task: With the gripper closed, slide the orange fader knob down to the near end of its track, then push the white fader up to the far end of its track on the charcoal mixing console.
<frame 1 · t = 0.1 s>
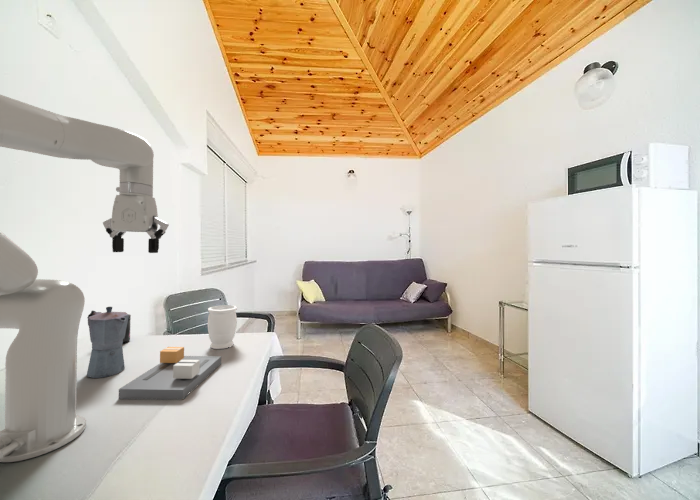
hand: (135, 252, 80), 37 cm above the table, tool pointing down, fingers open, 9 cm apart
moka pot: (104, 372, 85), on the table
orange fader: (172, 354, 88), point 5 cm above the table, slide at 10.0 cm
console: (176, 379, 82), on the table
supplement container: (119, 343, 111), on the table
jar: (222, 346, 110), on the table
white fader: (186, 368, 78), point 5 cm above the table, slide at 0.0 cm
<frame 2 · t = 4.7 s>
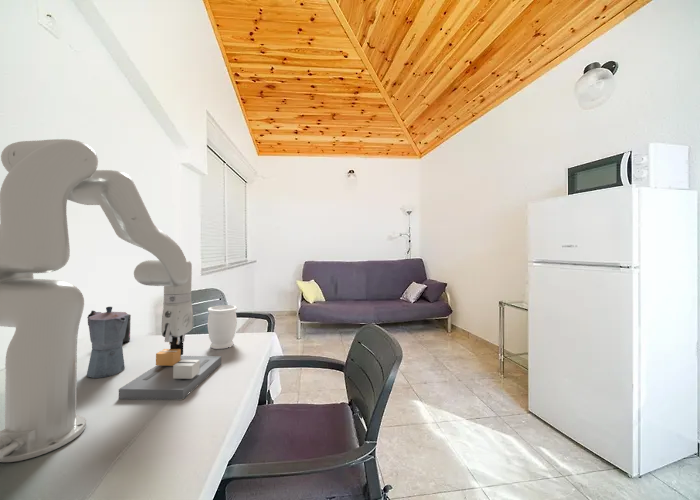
hand: (176, 355, 90), 4 cm above the table, tool pointing down, fingers closed
orange fader: (168, 356, 86), point 5 cm above the table, slide at 8.1 cm, touching gripper
everything else where it was.
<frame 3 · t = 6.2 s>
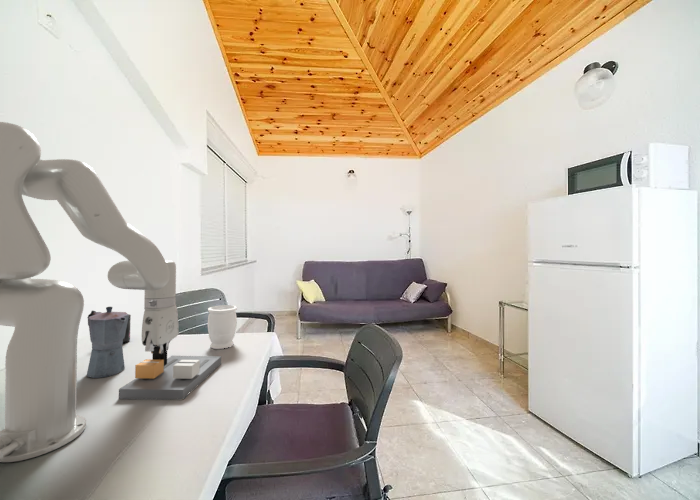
hand: (159, 365, 82), 4 cm above the table, tool pointing down, fingers closed
orange fader: (149, 368, 78), point 5 cm above the table, slide at -0.1 cm, touching gripper
everything else where it was.
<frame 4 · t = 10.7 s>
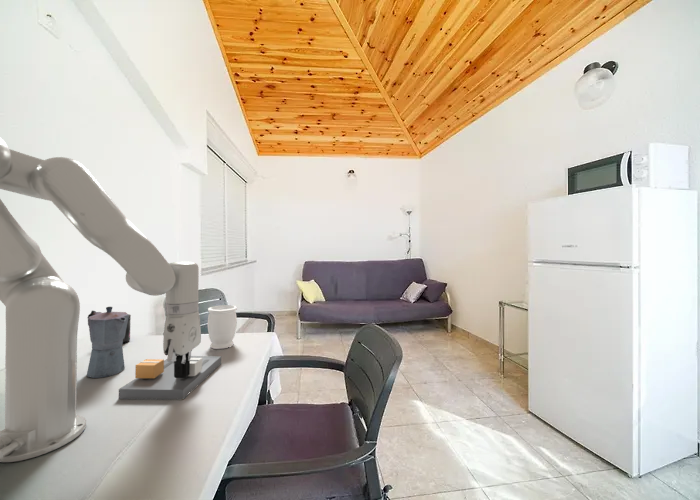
hand: (181, 376, 75), 4 cm above the table, tool pointing down, fingers closed
orange fader: (150, 368, 78), point 5 cm above the table, slide at -0.1 cm
white fader: (189, 366, 79), point 5 cm above the table, slide at 1.5 cm, touching gripper
everything else where it was.
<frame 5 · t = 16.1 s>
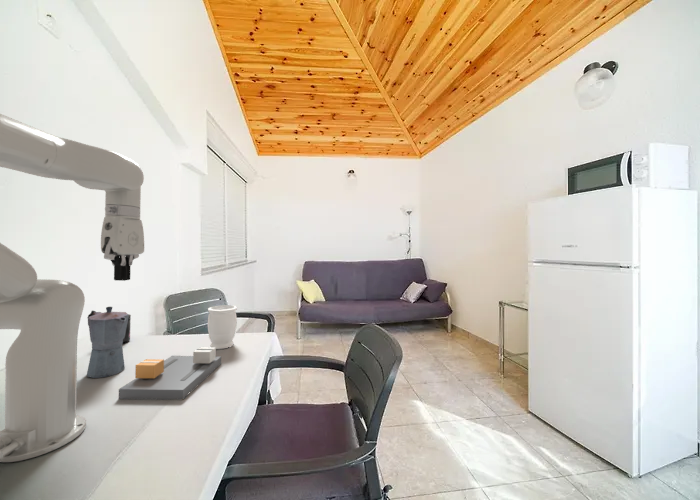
hand: (122, 279, 78), 29 cm above the table, tool pointing down, fingers closed
white fader: (204, 354, 88), point 5 cm above the table, slide at 10.1 cm
everything else where it was.
at the end: orange fader slide at -0.1 cm; white fader slide at 10.1 cm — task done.
